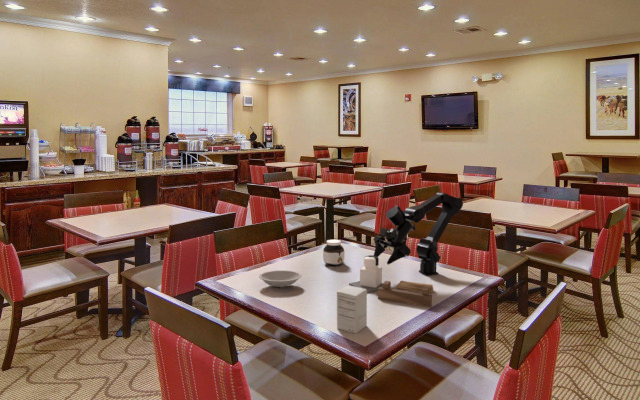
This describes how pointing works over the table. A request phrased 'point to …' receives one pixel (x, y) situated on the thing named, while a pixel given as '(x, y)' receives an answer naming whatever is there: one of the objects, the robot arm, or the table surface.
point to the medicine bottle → (371, 272)
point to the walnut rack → (405, 295)
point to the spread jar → (333, 253)
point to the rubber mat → (369, 289)
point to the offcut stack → (414, 286)
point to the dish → (280, 278)
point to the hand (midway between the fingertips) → (380, 261)
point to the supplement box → (351, 309)
